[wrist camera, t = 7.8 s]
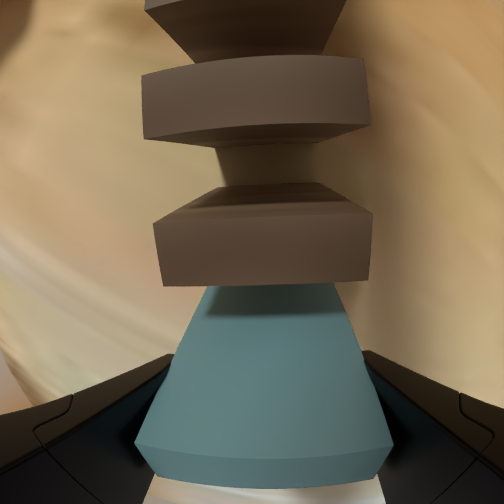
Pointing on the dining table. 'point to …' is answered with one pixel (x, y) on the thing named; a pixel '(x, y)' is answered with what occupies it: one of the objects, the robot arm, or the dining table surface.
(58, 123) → the dining table surface
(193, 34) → the domino
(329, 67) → the domino
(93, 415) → the robot arm
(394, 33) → the dining table surface
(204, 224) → the domino
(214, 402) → the end domino
